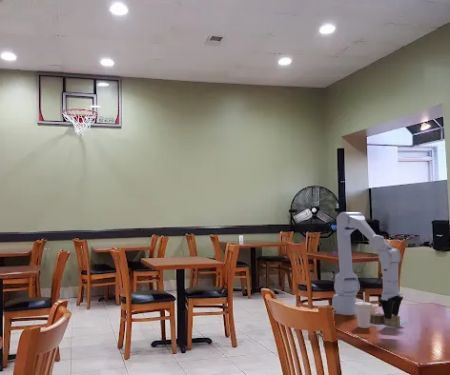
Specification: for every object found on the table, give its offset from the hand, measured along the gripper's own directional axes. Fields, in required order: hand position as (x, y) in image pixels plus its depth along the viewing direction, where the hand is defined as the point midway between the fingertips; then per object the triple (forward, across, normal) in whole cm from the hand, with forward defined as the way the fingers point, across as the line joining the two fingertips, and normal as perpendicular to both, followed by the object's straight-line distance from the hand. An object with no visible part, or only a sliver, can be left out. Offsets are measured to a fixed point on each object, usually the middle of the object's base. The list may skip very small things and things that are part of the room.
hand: (391, 316), depth 182 cm
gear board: (+4, +2, +3) cm, 5 cm away
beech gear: (+3, 0, 0) cm, 3 cm away
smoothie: (+4, -10, +7) cm, 13 cm away
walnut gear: (+3, 0, +6) cm, 6 cm away
